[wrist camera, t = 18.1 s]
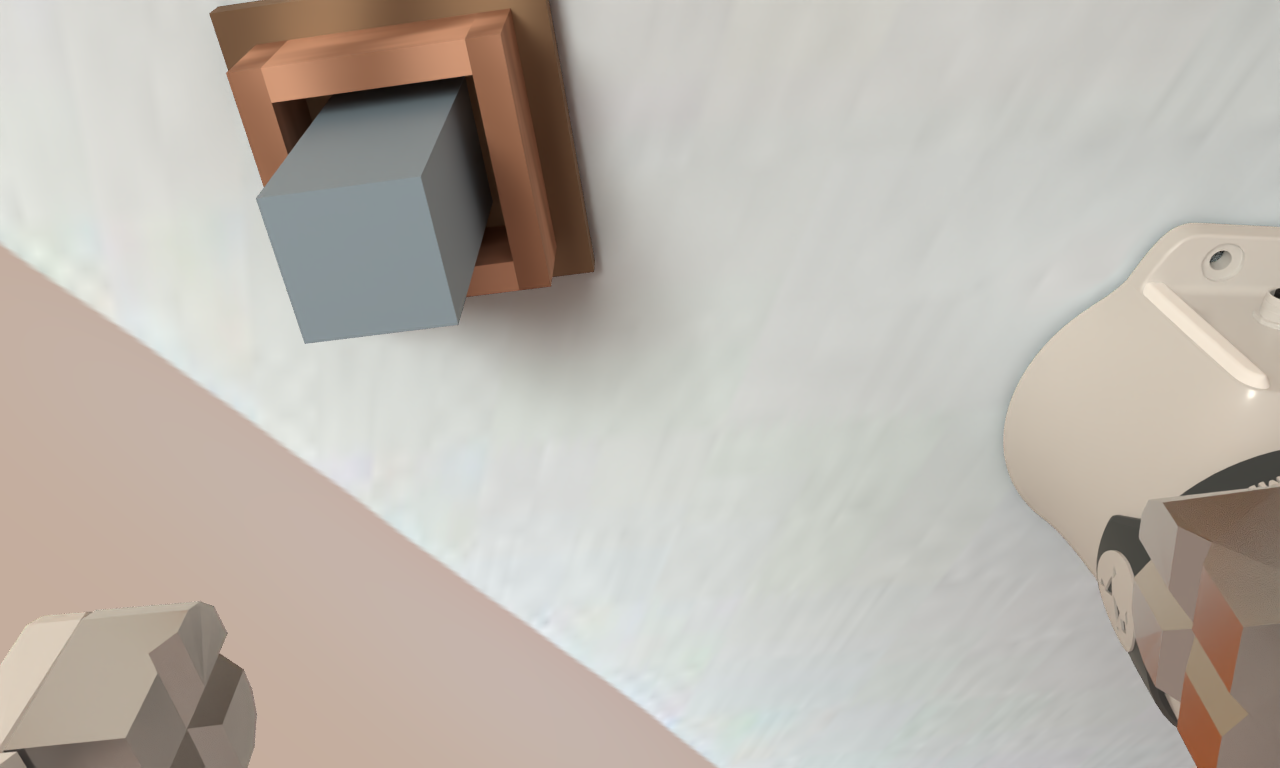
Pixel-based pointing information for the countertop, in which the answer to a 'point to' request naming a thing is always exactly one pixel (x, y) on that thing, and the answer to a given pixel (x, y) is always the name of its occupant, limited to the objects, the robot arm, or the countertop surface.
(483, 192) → the square peg
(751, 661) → the countertop surface
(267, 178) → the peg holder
